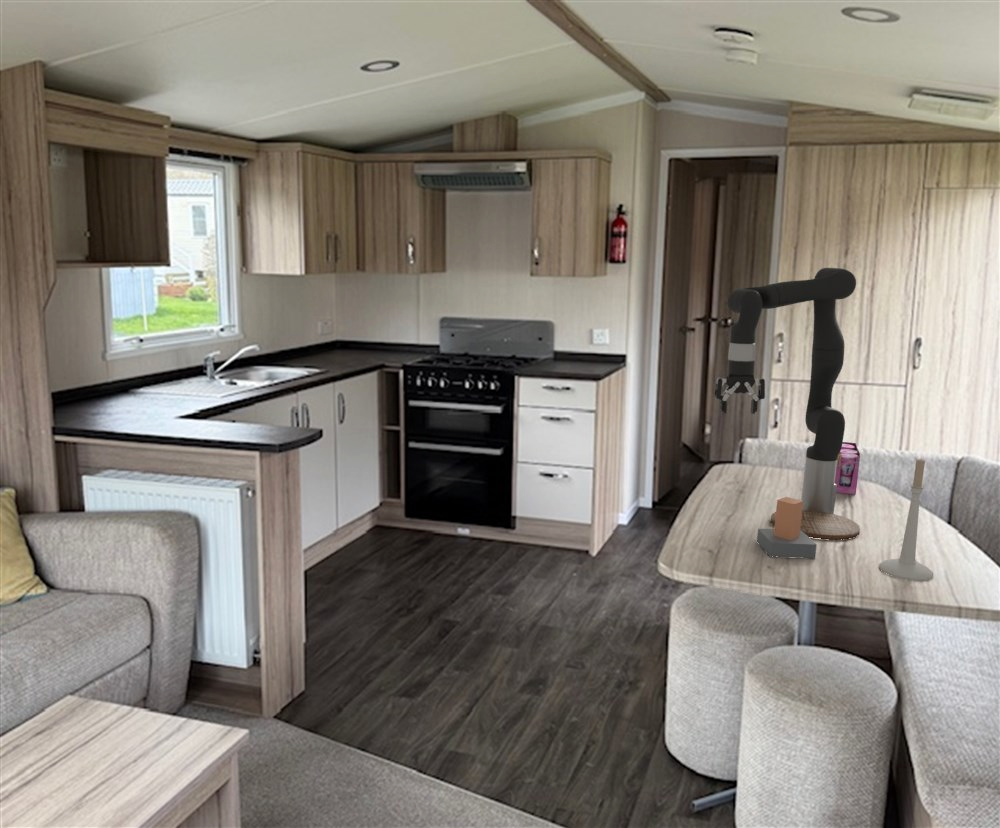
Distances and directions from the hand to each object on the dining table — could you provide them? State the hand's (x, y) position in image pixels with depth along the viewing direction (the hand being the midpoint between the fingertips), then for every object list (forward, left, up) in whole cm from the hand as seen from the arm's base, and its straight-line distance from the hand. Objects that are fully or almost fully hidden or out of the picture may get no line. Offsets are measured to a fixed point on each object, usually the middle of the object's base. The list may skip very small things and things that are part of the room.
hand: (738, 413), depth 267 cm
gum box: (-52, -45, -32) cm, 76 cm away
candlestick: (-35, +41, -32) cm, 63 cm away
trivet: (-24, +5, -33) cm, 41 cm away
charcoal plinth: (-8, +28, -32) cm, 44 cm away
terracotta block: (-8, +28, -28) cm, 41 cm away
